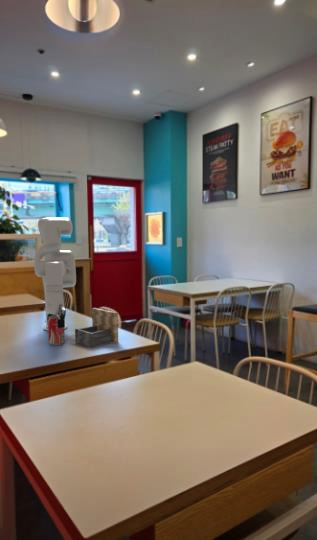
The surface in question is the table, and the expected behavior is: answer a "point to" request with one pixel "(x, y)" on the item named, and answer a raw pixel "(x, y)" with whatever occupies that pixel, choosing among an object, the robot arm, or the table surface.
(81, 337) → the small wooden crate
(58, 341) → the soda can
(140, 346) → the table surface
